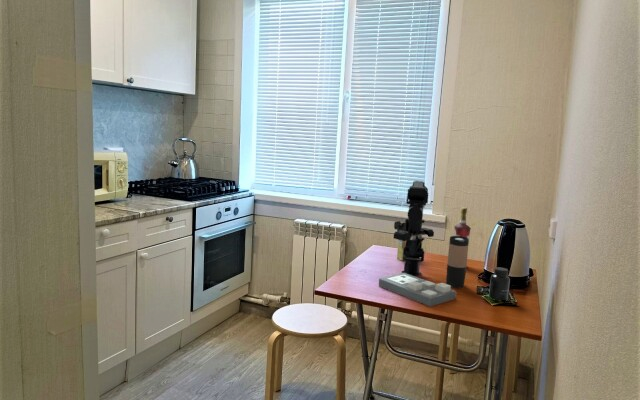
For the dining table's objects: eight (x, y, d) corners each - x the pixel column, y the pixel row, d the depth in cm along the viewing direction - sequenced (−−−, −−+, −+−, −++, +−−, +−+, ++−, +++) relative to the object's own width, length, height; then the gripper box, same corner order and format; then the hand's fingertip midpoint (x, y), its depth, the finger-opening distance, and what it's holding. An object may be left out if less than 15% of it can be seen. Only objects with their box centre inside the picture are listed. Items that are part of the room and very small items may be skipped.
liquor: (449, 263, 225) (454, 206, 221) (465, 264, 225) (470, 207, 221) (452, 267, 218) (457, 208, 214) (468, 269, 218) (474, 209, 213)
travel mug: (451, 280, 199) (455, 235, 196) (468, 285, 194) (472, 238, 191) (441, 284, 194) (446, 237, 191) (458, 289, 188) (463, 241, 185)
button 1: (413, 288, 181) (414, 280, 181) (421, 292, 178) (422, 283, 178) (406, 290, 179) (407, 282, 178) (414, 293, 176) (415, 285, 175)
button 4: (441, 290, 181) (442, 282, 180) (450, 293, 178) (450, 285, 177) (434, 292, 178) (435, 284, 178) (443, 295, 175) (444, 287, 175)
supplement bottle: (505, 303, 175) (509, 272, 173) (486, 299, 179) (489, 269, 177) (509, 298, 181) (512, 268, 179) (490, 294, 184) (493, 265, 182)
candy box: (411, 257, 233) (414, 227, 231) (416, 259, 230) (419, 229, 227) (396, 258, 230) (398, 228, 228) (401, 260, 226) (403, 229, 224)
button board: (403, 279, 198) (404, 272, 197) (455, 298, 178) (456, 290, 177) (378, 285, 189) (379, 277, 188) (430, 306, 169) (430, 297, 168)
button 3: (427, 297, 176) (428, 289, 176) (436, 301, 173) (437, 292, 172) (420, 299, 174) (421, 291, 173) (429, 303, 171) (430, 294, 170)
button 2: (426, 288, 186) (427, 280, 186) (434, 291, 183) (435, 283, 183) (420, 290, 184) (420, 282, 183) (428, 293, 181) (429, 285, 180)
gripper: (415, 212, 202) (412, 247, 205) (384, 215, 191) (382, 252, 193) (436, 216, 194) (432, 253, 196) (405, 220, 182) (402, 259, 184)
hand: (412, 254), depth 193 cm, fingers closed
